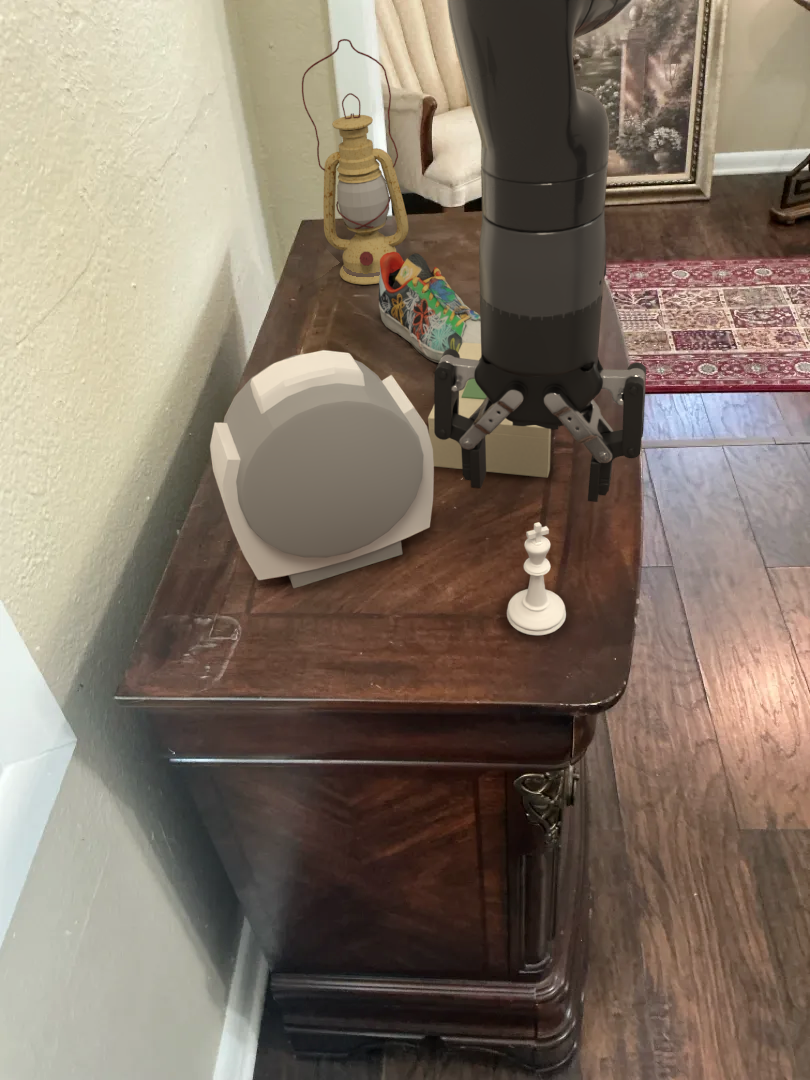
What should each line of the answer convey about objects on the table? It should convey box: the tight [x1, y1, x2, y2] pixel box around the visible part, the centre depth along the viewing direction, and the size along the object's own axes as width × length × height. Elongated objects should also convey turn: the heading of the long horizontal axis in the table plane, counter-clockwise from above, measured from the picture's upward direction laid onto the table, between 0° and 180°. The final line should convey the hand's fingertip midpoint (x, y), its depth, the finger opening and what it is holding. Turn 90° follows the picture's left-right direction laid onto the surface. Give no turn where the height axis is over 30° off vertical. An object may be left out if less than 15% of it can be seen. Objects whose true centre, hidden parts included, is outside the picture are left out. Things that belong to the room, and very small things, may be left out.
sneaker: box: [378, 251, 481, 364], centre depth 105 cm, size 8×21×10 cm, turn 38°
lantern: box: [301, 38, 409, 285], centre depth 115 cm, size 12×10×30 cm
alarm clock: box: [209, 349, 435, 589], centre depth 74 cm, size 18×8×20 cm, turn 110°
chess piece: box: [506, 521, 567, 636], centre depth 70 cm, size 5×5×10 cm
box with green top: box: [427, 343, 552, 479], centre depth 91 cm, size 12×15×6 cm
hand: (535, 488), depth 64 cm, fingers open, 8 cm apart
